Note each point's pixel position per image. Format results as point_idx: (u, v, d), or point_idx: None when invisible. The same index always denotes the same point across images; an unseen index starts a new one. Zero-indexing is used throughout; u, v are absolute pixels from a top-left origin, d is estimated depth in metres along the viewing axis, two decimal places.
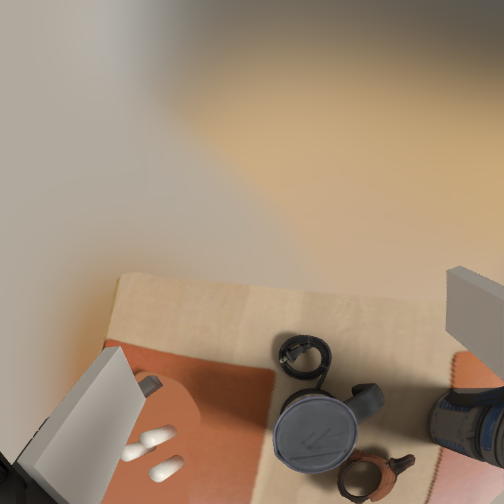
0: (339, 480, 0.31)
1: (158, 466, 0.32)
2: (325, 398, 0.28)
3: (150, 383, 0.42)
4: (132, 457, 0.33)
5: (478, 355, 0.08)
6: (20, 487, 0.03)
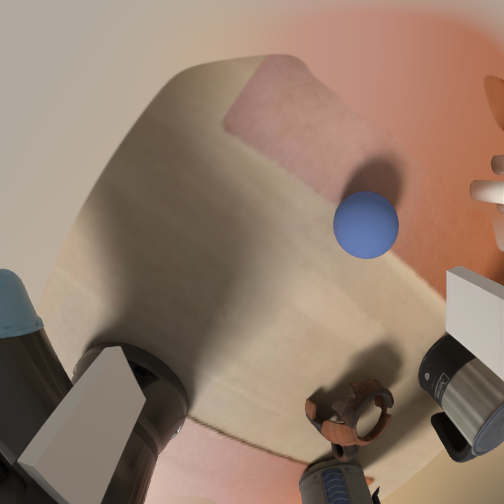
0: (383, 391, 0.28)
1: None
2: None
3: None
4: None
5: (478, 355, 0.08)
6: (20, 487, 0.03)
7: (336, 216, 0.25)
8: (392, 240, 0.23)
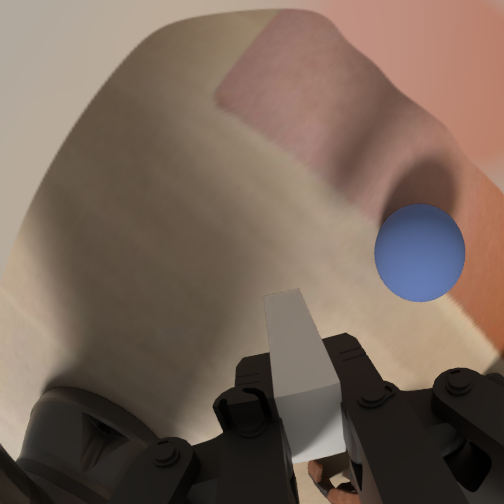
0: None
1: None
2: None
3: None
4: None
5: None
6: (283, 443, 0.05)
7: (382, 240, 0.16)
8: (458, 277, 0.14)
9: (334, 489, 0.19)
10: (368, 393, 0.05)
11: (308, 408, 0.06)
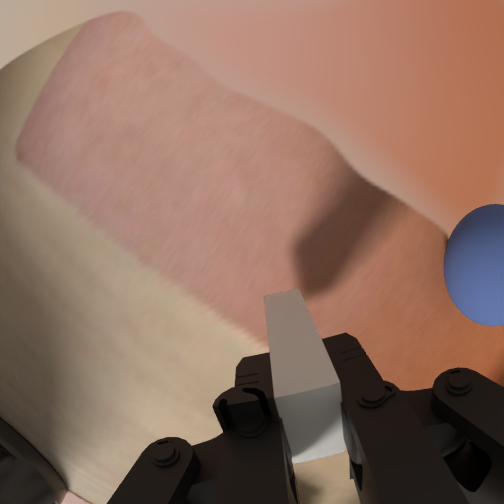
0: None
1: None
2: None
3: None
4: None
5: None
6: (283, 443, 0.05)
7: None
8: (464, 308, 0.11)
9: None
10: (368, 393, 0.05)
11: (308, 408, 0.06)
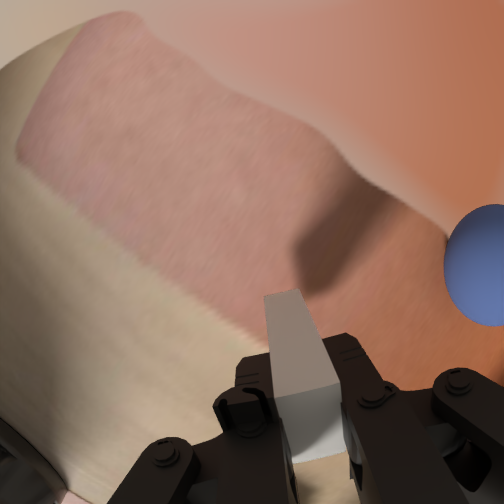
0: None
1: None
2: None
3: None
4: None
5: None
6: (283, 443, 0.05)
7: None
8: (464, 308, 0.11)
9: None
10: (368, 393, 0.05)
11: (308, 408, 0.06)
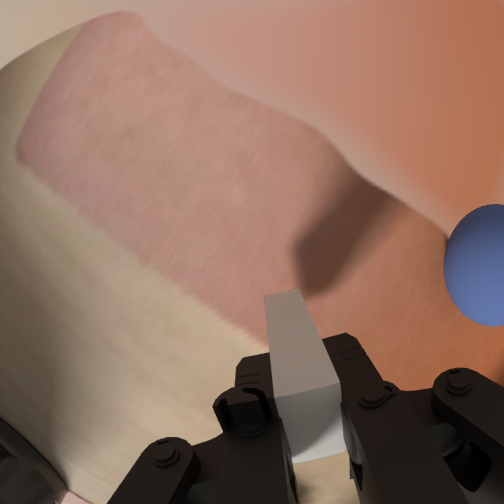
0: None
1: None
2: None
3: None
4: None
5: None
6: (283, 443, 0.05)
7: None
8: (464, 308, 0.11)
9: None
10: (368, 393, 0.05)
11: (308, 408, 0.06)
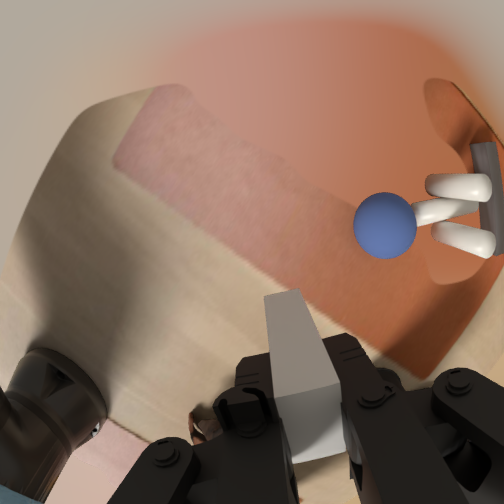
0: None
1: None
2: None
3: (499, 250, 0.26)
4: (474, 196, 0.19)
5: None
6: (283, 443, 0.05)
7: None
8: (363, 247, 0.25)
9: (194, 437, 0.28)
10: (368, 393, 0.05)
11: (308, 408, 0.06)
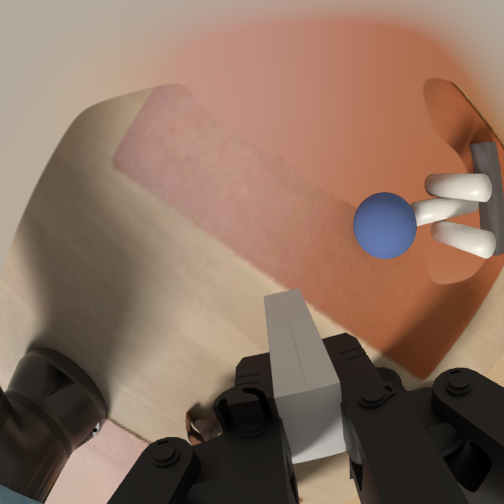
0: None
1: None
2: None
3: (499, 250, 0.26)
4: (474, 196, 0.19)
5: None
6: (283, 443, 0.05)
7: None
8: (363, 247, 0.25)
9: (191, 436, 0.28)
10: (368, 393, 0.05)
11: (308, 408, 0.06)
